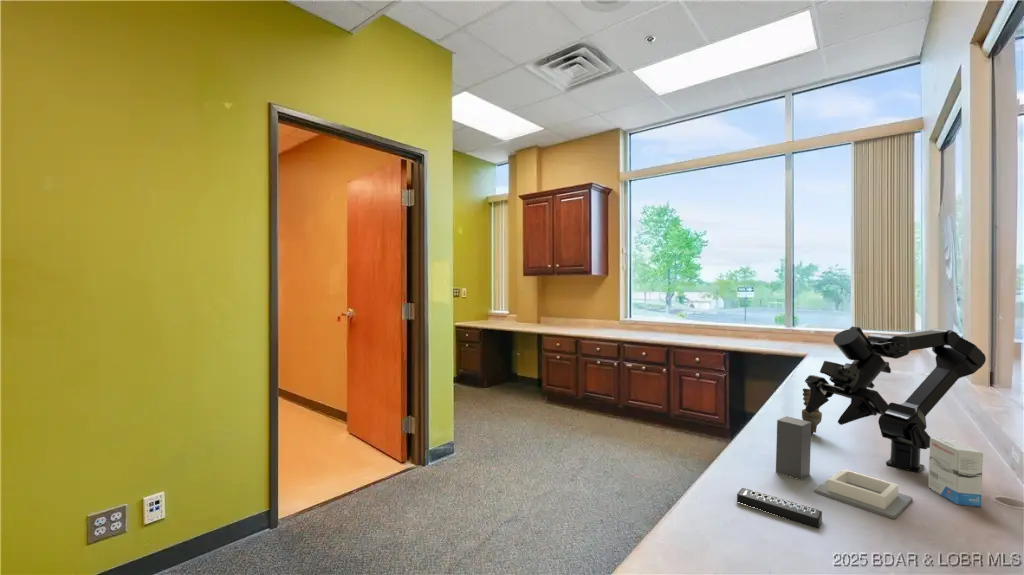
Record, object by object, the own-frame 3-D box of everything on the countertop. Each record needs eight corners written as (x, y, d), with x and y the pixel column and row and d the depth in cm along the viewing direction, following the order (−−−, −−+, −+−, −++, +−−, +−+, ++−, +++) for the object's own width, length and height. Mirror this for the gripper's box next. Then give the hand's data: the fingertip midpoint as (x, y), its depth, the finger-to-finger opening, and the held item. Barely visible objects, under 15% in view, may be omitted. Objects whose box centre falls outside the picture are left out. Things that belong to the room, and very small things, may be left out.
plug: (785, 466, 113) (786, 416, 113) (809, 474, 109) (811, 422, 109) (775, 472, 110) (777, 419, 110) (800, 480, 106) (802, 425, 106)
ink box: (982, 507, 94) (984, 452, 94) (955, 504, 95) (957, 450, 95) (951, 489, 103) (953, 438, 103) (927, 486, 104) (928, 436, 104)
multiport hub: (818, 531, 84) (819, 519, 84) (736, 504, 94) (736, 493, 94) (822, 522, 88) (822, 510, 88) (742, 497, 97) (742, 487, 97)
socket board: (836, 476, 108) (836, 463, 108) (912, 499, 97) (912, 485, 97) (813, 491, 100) (814, 478, 100) (894, 519, 89) (894, 503, 89)
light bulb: (819, 432, 141) (820, 385, 141) (825, 438, 136) (826, 389, 136) (799, 430, 143) (800, 383, 143) (804, 435, 138) (805, 387, 138)
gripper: (811, 345, 121) (774, 386, 119) (879, 356, 102) (837, 405, 101) (835, 373, 122) (799, 414, 120) (906, 390, 104) (865, 439, 102)
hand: (822, 417), depth 111 cm, fingers open, 9 cm apart
